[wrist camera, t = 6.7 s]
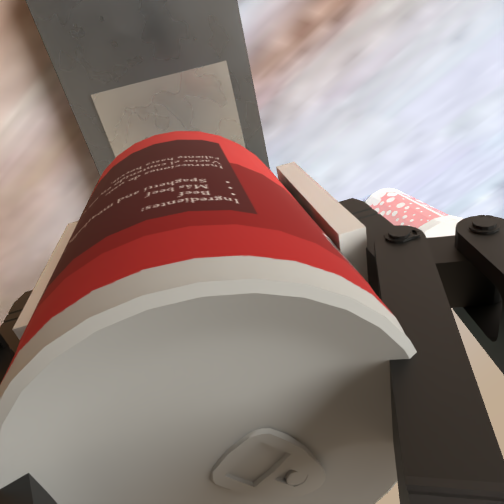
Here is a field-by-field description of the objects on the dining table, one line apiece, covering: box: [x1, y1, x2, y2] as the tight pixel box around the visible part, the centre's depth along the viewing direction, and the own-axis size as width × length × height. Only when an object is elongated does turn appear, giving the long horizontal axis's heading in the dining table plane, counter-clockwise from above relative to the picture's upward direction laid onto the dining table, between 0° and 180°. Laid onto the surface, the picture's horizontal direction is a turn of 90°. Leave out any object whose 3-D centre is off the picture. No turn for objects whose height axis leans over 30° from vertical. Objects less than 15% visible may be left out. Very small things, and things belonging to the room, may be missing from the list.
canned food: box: [0, 131, 417, 504], centre depth 12 cm, size 8×8×11 cm
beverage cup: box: [365, 188, 463, 238], centre depth 30 cm, size 6×6×14 cm
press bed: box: [26, 0, 270, 176], centre depth 28 cm, size 20×12×2 cm, turn 13°
